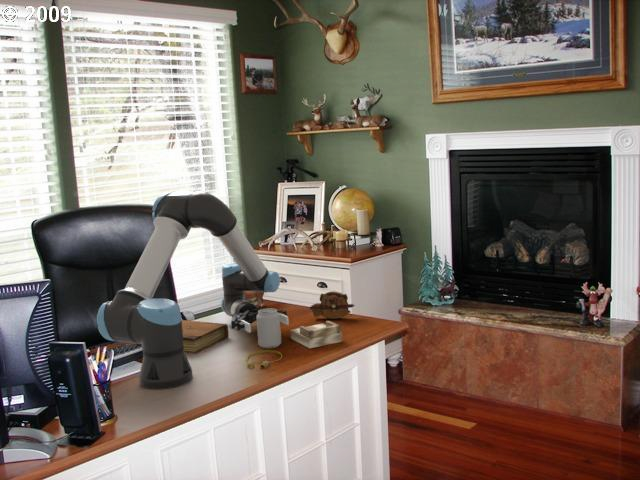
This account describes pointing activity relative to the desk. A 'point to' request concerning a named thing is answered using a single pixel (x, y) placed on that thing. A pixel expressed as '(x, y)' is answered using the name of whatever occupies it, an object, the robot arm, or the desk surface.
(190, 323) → the diary
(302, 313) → the desk surface
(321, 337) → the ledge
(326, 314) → the wooden carving
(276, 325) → the can
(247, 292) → the bull figurine
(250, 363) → the torc
